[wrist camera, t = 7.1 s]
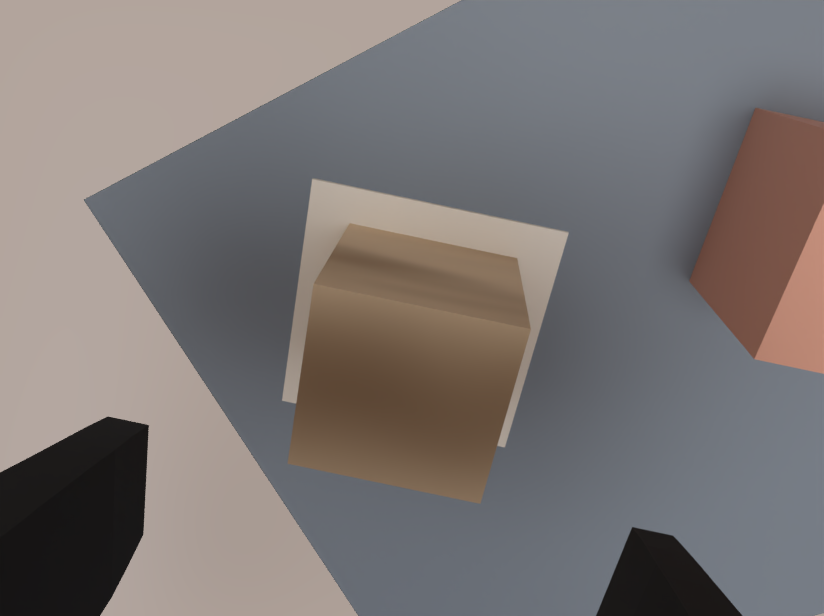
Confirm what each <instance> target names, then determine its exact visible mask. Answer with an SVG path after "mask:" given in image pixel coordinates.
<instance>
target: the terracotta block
mask: <svg viewBox="0 0 824 616" xmlns="http://www.w3.org/2000/svg"><path fill="white" fill-rule="evenodd" d="M689 282H690V283H691V284H692V285H693V287H694V288H695V289H696V290H697V291H698V293H699V294H700V295H701V296H702V297H703V299H704V300H705V301H706V302H707V303H708V305H709V306H710V307H711V308H712V309H713V310H714V312H715V313H716V314H717V315H718V316H719V318H720V319H721V320H722V321H723V322H724V324H725V325H726V326H727V327H728V328H729V330H730V331H731V332H732V333H733V334H734V336H735V337H736V338H737V339H738V340H739V342H740V343H741V344H742V345H743V346H744V348H745V349H746V350H747V351H748V352H749V354H750V355H751V356H752V357H753V358H754V359H756V360H760V361H765V362H770V363H775V364H779V365H784V366H789V367H794V368H798V369H803V370H808V371H813V372H817V373H822V374H824V122H821V121H816V120H812V119H807V118H802V117H797V116H793V115H788V114H783V113H778V112H774V111H769V110H764V109H760V108H755V110H754V113H753V116H752V118H751V121H750V123H749V126H748V129H747V131H746V134H745V136H744V139H743V142H742V144H741V147H740V150H739V152H738V155H737V157H736V160H735V163H734V165H733V168H732V170H731V173H730V176H729V178H728V181H727V183H726V186H725V189H724V191H723V194H722V197H721V199H720V202H719V204H718V207H717V210H716V212H715V215H714V217H713V220H712V223H711V225H710V228H709V231H708V233H707V236H706V238H705V241H704V244H703V246H702V249H701V251H700V254H699V257H698V259H697V262H696V265H695V267H694V270H693V272H692V275H691V278H690V280H689Z"/></svg>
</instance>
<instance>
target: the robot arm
mask: <svg viewBox="0 0 824 616" xmlns="http://www.w3.org/2000/svg"><path fill="white" fill-rule="evenodd" d="M148 427H149V426H148V425H145V424H141V423H136V422H131V421H126V420H121V419H117V418H112V417H106V418H104V419H102V420H100V421H98V422H96V423H94V424H92V425H90V426H88V427H86V428H84V429H82V430H80V431H78V432H76V433H74V434H73V435H71V436H69V437H67V438H65V439H63V440H61V441H59V442H58V443H56V444H54V445H52V446H50V447H48V448H46V449H44V450H43V451H41V452H39V453H37V454H35V455H33V456H31V457H29V458H27V459H26V460H24V461H22V462H20V463H18V464H16V465H14V466H12V467H10V468H8V469H6V470H4V471H3V472H0V616H100V615H101V613H102V611H103V610H104V608H105V607H106V605H107V604H108V602H109V601H110V599H111V597H112V595H113V594H114V592H115V590H116V587H117V586H118V584H119V582H120V580H121V578H122V576H123V574H124V572H125V570H126V568H127V566H128V564H129V562H130V560H131V558H132V556H133V554H134V552H135V550H136V548H137V546H138V544H139V542H140V540H141V538H142V536H143V528H144V508H145V489H146V488H145V487H146V468H147V448H148ZM596 616H742V614H741V613H740V612H739V611H738V610H737V609H736V607H735V606H734V605H733V604H732V603H731V601H730V600H729V599H728V598H727V597H726V596H725V594H724V593H723V592H722V591H721V590H720V588H719V587H718V586H717V585H716V584H715V583H714V581H713V580H712V579H711V578H710V577H709V575H708V574H707V573H706V572H705V571H704V570H703V568H702V567H701V566H700V565H699V564H698V563H697V561H696V560H695V559H694V558H693V557H692V556H691V555H690V553H689V552H688V551H687V550H686V549H685V548H684V547H683V546H682V544H681V543H680V542H679V541H678V540H677V539H676V538H675V537H674V536H673V535H668V534H663V533H658V532H654V531H649V530H644V529H639V528H635V527H632V529H631V531H630V533H629V536H628V538H627V541H626V543H625V546H624V548H623V551H622V553H621V556H620V558H619V561H618V563H617V565H616V568H615V570H614V573H613V575H612V578H611V580H610V583H609V585H608V588H607V590H606V592H605V595H604V597H603V600H602V602H601V605H600V607H599V610H598V612H597V615H596Z"/></svg>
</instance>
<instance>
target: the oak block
mask: <svg viewBox="0 0 824 616" xmlns="http://www.w3.org/2000/svg"><path fill="white" fill-rule="evenodd" d="M530 331H531V327H530V321H529V316H528V311H527V306H526V301H525V296H524V291H523V286H522V281H521V275H520V270H519V265H518V260H517V258H514V257H509V256H504V255H499V254H495V253H490V252H485V251H480V250H476V249H471V248H466V247H461V246H456V245H452V244H447V243H442V242H437V241H433V240H428V239H423V238H418V237H413V236H409V235H404V234H399V233H394V232H389V231H385V230H380V229H375V228H370V227H366V226H361V225H356V224H351V223H349V225H348V227H347V228H346V230H345V232H344V233H343V235H342V237H341V238H340V240H339V242H338V244H337V245H336V247H335V249H334V250H333V252H332V254H331V255H330V257H329V259H328V260H327V262H326V264H325V265H324V267H323V269H322V270H321V272H320V274H319V275H318V277H317V279H316V280H315V282H314V284H313V291H312V298H311V305H310V312H309V319H308V326H307V332H306V339H305V346H304V353H303V360H302V367H301V374H300V381H299V388H298V395H297V402H296V409H295V415H294V422H293V429H292V436H291V443H290V450H289V457H288V464H291V465H296V466H301V467H306V468H311V469H315V470H320V471H325V472H330V473H335V474H339V475H344V476H349V477H354V478H359V479H363V480H368V481H373V482H378V483H383V484H387V485H392V486H397V487H402V488H407V489H411V490H416V491H421V492H426V493H431V494H435V495H440V496H445V497H450V498H455V499H459V500H464V501H469V502H474V503H479V504H480V503H481V500H482V496H483V493H484V490H485V486H486V483H487V479H488V476H489V472H490V469H491V465H492V462H493V459H494V455H495V452H496V448H497V445H498V441H499V438H500V434H501V431H502V427H503V424H504V421H505V417H506V414H507V410H508V407H509V403H510V400H511V396H512V393H513V390H514V386H515V383H516V379H517V376H518V372H519V369H520V365H521V362H522V359H523V355H524V352H525V348H526V345H527V341H528V338H529V334H530Z"/></svg>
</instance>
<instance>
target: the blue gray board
mask: <svg viewBox="0 0 824 616" xmlns="http://www.w3.org/2000/svg"><path fill="white" fill-rule="evenodd" d="M755 108H760V109H764V110H769V111H774V112H778V113H783V114H788V115H793V116H797V117H802V118H807V119H812V120H816V121H821V122H824V0H461V1H459V2H457V3H456V4H454V5H452V6H450V7H448V8H446V9H444V10H442V11H440V12H439V13H437V14H435V15H433V16H431V17H429V18H427V19H426V20H423V21H421V22H419V23H418V24H416V25H414V26H412V27H410V28H408V29H406V30H404V31H402V32H401V33H399V34H397V35H395V36H393V37H391V38H389V39H387V40H385V41H384V42H382V43H380V44H378V45H376V46H374V47H372V48H370V49H368V50H366V51H365V52H363V53H361V54H359V55H357V56H355V57H353V58H351V59H350V60H348V61H346V62H344V63H342V64H340V65H338V66H336V67H334V68H332V69H331V70H329V71H327V72H325V73H323V74H321V75H319V76H317V77H315V78H314V79H312V80H310V81H308V82H306V83H304V84H302V85H300V86H298V87H296V88H295V89H293V90H291V91H289V92H287V93H285V94H283V95H281V96H279V97H277V98H276V99H274V100H272V101H270V102H268V103H266V104H264V105H262V106H260V107H259V108H257V109H255V110H253V111H251V112H249V113H247V114H246V115H243V116H242V117H240V118H238V119H236V120H234V121H232V122H230V123H228V124H226V125H225V126H223V127H221V128H219V129H217V130H215V131H213V132H211V133H209V134H207V135H206V136H204V137H202V138H200V139H198V140H196V141H194V142H192V143H190V144H189V145H187V146H185V147H183V148H181V149H179V150H177V151H175V152H173V153H171V154H170V155H168V156H166V157H164V158H162V159H160V160H158V161H157V162H155V163H153V164H151V165H149V166H147V167H145V168H143V169H141V170H139V171H138V172H136V173H134V174H132V175H130V176H128V177H126V178H124V179H122V180H120V181H119V182H117V183H115V184H113V185H111V186H109V187H107V188H106V189H103V190H101V191H100V192H98V193H96V194H94V195H92V196H90V197H88V198H86V199H84V201H85V202H86V204H87V205H88V207H89V209H90V210H91V212H92V213H93V215H94V216H95V217H96V219H97V220H98V222H99V224H100V225H101V227H102V228H103V230H104V231H105V233H106V234H107V235H108V237H109V239H110V240H111V242H112V243H113V245H114V246H115V248H116V249H117V251H118V252H119V254H120V255H121V257H122V258H123V260H124V262H125V263H126V264H127V266H128V267H129V269H130V271H131V272H132V274H133V275H134V277H135V278H136V280H137V281H138V282H139V284H140V286H141V287H142V289H143V290H144V292H145V293H146V295H147V296H148V298H149V299H150V301H151V302H152V304H153V305H154V307H155V308H156V310H157V311H158V313H159V315H160V316H161V317H162V319H163V320H164V322H165V324H166V325H167V327H168V328H169V330H170V331H171V333H172V334H173V336H174V337H175V339H176V340H177V342H178V343H179V345H180V346H181V348H182V349H183V351H184V352H185V354H186V355H187V357H188V358H189V360H190V361H191V363H192V364H193V366H194V368H195V369H196V371H197V372H198V374H199V375H200V377H201V378H202V380H203V381H204V383H205V384H206V386H207V387H208V389H209V390H210V392H211V393H212V395H213V396H214V398H215V399H216V401H217V402H218V404H219V405H220V407H221V408H222V410H223V411H224V413H225V414H226V416H227V417H228V419H229V421H230V422H231V424H232V425H233V427H234V428H235V430H236V431H237V433H238V434H239V436H240V437H241V439H242V440H243V442H244V443H245V445H246V446H247V448H248V449H249V451H250V452H251V454H252V455H253V457H254V458H255V460H256V461H257V463H258V464H259V466H260V468H261V469H262V471H263V472H264V474H265V475H266V477H267V478H268V480H269V481H270V483H271V484H272V485H273V487H274V489H275V490H276V492H277V493H278V495H279V496H280V498H281V499H282V501H283V502H284V504H285V505H286V507H287V508H288V510H289V511H290V513H291V515H292V516H293V517H294V519H295V520H296V522H297V524H298V525H299V527H300V528H301V530H302V531H303V533H304V534H305V536H306V537H307V539H308V540H309V542H310V543H311V545H312V546H313V548H314V549H315V551H316V552H317V554H318V555H319V557H320V558H321V560H322V561H323V563H324V564H325V566H326V567H327V569H328V571H329V572H330V573H331V575H332V577H333V578H334V580H335V581H336V583H337V584H338V586H339V587H340V589H341V590H342V591H343V593H344V595H345V596H346V598H347V599H348V601H349V602H350V604H351V605H352V607H353V608H354V610H355V611H356V613H357V614H358V616H596V615H597V612H598V610H599V607H600V605H601V602H602V600H603V597H604V595H605V592H606V590H607V588H608V585H609V583H610V580H611V578H612V575H613V573H614V570H615V568H616V565H617V563H618V561H619V558H620V556H621V553H622V551H623V548H624V546H625V543H626V541H627V538H628V536H629V533H630V531H631V529H632V527H635V528H639V529H644V530H649V531H654V532H658V533H663V534H668V535H673V536H674V537H675V538H676V539H677V540H678V541H679V542H680V543H681V544H682V546H683V547H684V548H685V549H686V550H687V551H688V552H689V553H690V555H691V556H692V557H693V558H694V559H695V560H696V561H697V563H698V564H699V565H700V566H701V567H702V568H703V570H704V571H705V572H706V573H707V574H708V575H709V577H710V578H711V579H712V580H713V581H714V583H715V584H716V585H717V586H718V587H719V588H720V590H721V591H722V592H723V593H724V594H725V596H726V597H727V598H728V599H729V600H730V601H731V603H732V604H733V605H734V606H735V607H736V609H737V610H738V611H739V612H740V613H741V614H742V616H814V615H818V614H822V613H824V374H822V373H817V372H813V371H808V370H803V369H798V368H794V367H789V366H784V365H779V364H775V363H770V362H765V361H760V360H756V359H754V358H753V357H752V356H751V355H750V354H749V352H748V351H747V350H746V349H745V348H744V346H743V345H742V344H741V343H740V342H739V340H738V339H737V338H736V337H735V336H734V334H733V333H732V332H731V331H730V330H729V328H728V327H727V326H726V325H725V324H724V322H723V321H722V320H721V319H720V318H719V316H718V315H717V314H716V313H715V312H714V310H713V309H712V308H711V307H710V306H709V305H708V303H707V302H706V301H705V300H704V299H703V297H702V296H701V295H700V294H699V293H698V291H697V290H696V289H695V288H694V287H693V285H692V284H691V283H690V282H689V280H690V278H691V275H692V272H693V270H694V267H695V265H696V262H697V259H698V257H699V254H700V251H701V249H702V246H703V244H704V241H705V238H706V236H707V233H708V231H709V228H710V225H711V223H712V220H713V217H714V215H715V212H716V210H717V207H718V204H719V202H720V199H721V197H722V194H723V191H724V189H725V186H726V183H727V181H728V178H729V176H730V173H731V170H732V168H733V165H734V163H735V160H736V157H737V155H738V152H739V150H740V147H741V144H742V142H743V139H744V136H745V134H746V131H747V129H748V126H749V123H750V121H751V118H752V116H753V113H754V110H755ZM349 223H351V224H356V225H361V226H366V227H370V228H375V229H380V230H385V231H389V232H394V233H399V234H404V235H409V236H413V237H418V238H423V239H428V240H433V241H437V242H442V243H447V244H452V245H456V246H461V247H466V248H471V249H476V250H480V251H485V252H490V253H495V254H499V255H504V256H509V257H514V258H517V260H518V265H519V270H520V275H521V281H522V286H523V291H524V296H525V301H526V306H527V311H528V316H529V321H530V327H531V331H530V334H529V338H528V341H527V345H526V348H525V352H524V355H523V359H522V362H521V365H520V369H519V372H518V376H517V379H516V383H515V386H514V390H513V393H512V396H511V400H510V403H509V407H508V410H507V414H506V417H505V421H504V424H503V427H502V431H501V434H500V438H499V441H498V445H497V448H496V452H495V455H494V459H493V462H492V465H491V469H490V472H489V476H488V479H487V483H486V486H485V490H484V493H483V496H482V500H481V503H480V504H479V503H474V502H469V501H464V500H459V499H455V498H450V497H445V496H440V495H435V494H431V493H426V492H421V491H416V490H411V489H407V488H402V487H397V486H392V485H387V484H383V483H378V482H373V481H368V480H363V479H359V478H354V477H349V476H344V475H339V474H335V473H330V472H325V471H320V470H315V469H311V468H306V467H301V466H296V465H291V464H288V457H289V450H290V443H291V436H292V429H293V422H294V415H295V409H296V402H297V395H298V388H299V381H300V374H301V367H302V360H303V353H304V346H305V339H306V332H307V326H308V319H309V312H310V305H311V298H312V291H313V284H314V282H315V280H316V279H317V277H318V275H319V274H320V272H321V270H322V269H323V267H324V265H325V264H326V262H327V260H328V259H329V257H330V255H331V254H332V252H333V250H334V249H335V247H336V245H337V244H338V242H339V240H340V238H341V237H342V235H343V233H344V232H345V230H346V228H347V227H348V225H349Z"/></svg>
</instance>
